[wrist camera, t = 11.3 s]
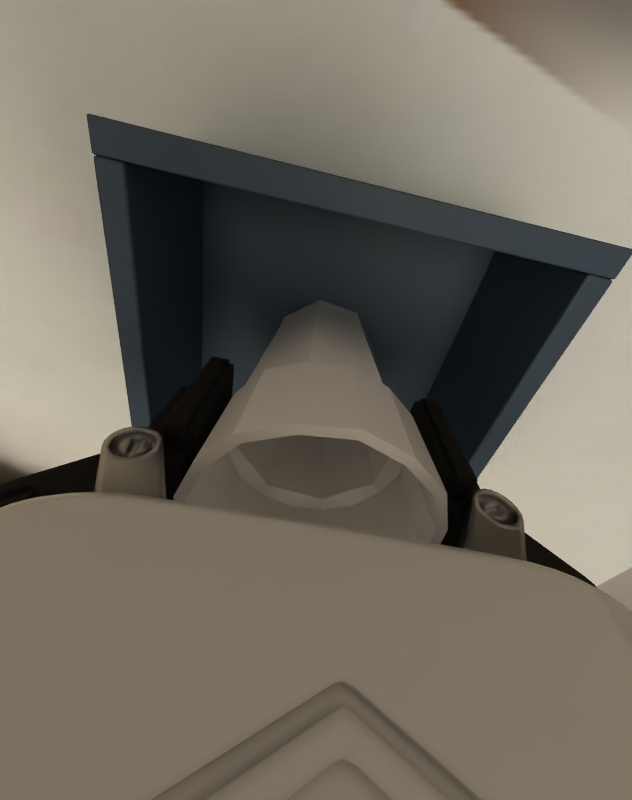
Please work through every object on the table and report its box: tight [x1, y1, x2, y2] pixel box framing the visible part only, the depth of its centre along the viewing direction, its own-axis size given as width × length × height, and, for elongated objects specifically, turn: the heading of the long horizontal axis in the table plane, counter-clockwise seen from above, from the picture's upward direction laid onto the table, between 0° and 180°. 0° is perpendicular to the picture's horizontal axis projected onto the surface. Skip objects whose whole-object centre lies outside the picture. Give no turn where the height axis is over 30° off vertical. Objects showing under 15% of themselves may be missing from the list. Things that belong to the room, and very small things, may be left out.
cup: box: [173, 300, 448, 544], centre depth 12 cm, size 7×7×11 cm
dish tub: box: [87, 114, 632, 478], centre depth 15 cm, size 15×15×7 cm
